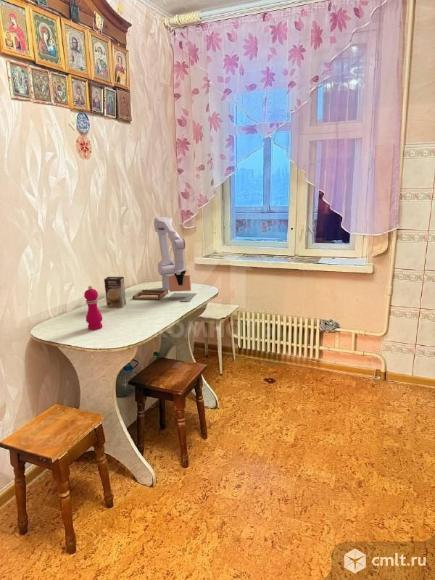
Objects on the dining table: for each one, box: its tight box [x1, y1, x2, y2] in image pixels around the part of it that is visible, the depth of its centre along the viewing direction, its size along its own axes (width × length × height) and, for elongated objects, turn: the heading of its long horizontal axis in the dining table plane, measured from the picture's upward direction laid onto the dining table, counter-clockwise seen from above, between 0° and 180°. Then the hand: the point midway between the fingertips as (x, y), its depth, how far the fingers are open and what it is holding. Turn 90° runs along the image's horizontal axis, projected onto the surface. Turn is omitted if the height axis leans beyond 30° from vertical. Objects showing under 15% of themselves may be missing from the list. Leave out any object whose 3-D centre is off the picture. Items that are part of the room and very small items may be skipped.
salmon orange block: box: [168, 273, 192, 293], centre depth 225 cm, size 4×12×9 cm, turn 87°
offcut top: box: [138, 295, 158, 298], centre depth 225 cm, size 4×10×1 cm, turn 79°
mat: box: [165, 292, 198, 303], centre depth 226 cm, size 16×14×1 cm
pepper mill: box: [83, 285, 103, 331], centre depth 180 cm, size 7×7×20 cm
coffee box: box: [103, 276, 127, 309], centre depth 212 cm, size 9×6×16 cm
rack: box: [132, 289, 169, 301], centre depth 229 cm, size 14×16×2 cm
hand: (181, 284), depth 225 cm, fingers closed on salmon orange block, 3 cm apart
